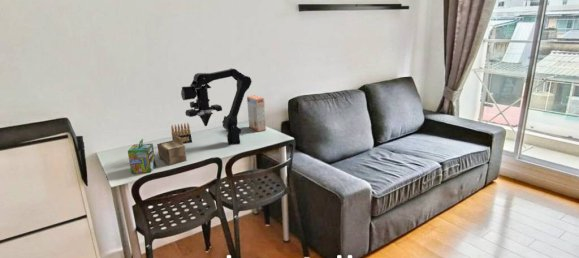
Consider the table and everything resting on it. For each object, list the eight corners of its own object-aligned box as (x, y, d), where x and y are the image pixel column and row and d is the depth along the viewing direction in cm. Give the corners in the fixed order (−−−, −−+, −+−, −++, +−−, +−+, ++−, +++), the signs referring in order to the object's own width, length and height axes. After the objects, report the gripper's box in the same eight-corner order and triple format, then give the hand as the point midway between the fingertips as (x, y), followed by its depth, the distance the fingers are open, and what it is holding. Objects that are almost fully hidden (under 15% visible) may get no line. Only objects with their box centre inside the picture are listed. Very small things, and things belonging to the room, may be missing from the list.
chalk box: (137, 166, 168) (132, 137, 164) (156, 165, 169) (152, 136, 165) (130, 174, 160) (125, 143, 155) (151, 172, 160) (146, 142, 156)
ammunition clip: (173, 145, 197) (170, 125, 194) (172, 144, 199) (170, 124, 195) (192, 142, 201) (189, 122, 198) (191, 141, 203) (189, 121, 199)
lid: (175, 141, 180) (174, 134, 179) (184, 146, 172) (183, 138, 171) (160, 145, 175) (159, 137, 174) (168, 150, 167) (167, 142, 166)
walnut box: (176, 154, 183) (174, 139, 180) (186, 160, 173) (184, 145, 171) (159, 158, 177) (157, 144, 175) (169, 165, 168) (166, 150, 165)
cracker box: (266, 130, 218) (264, 98, 213) (257, 132, 216) (255, 99, 210) (257, 125, 230) (255, 94, 224) (248, 127, 227) (246, 96, 221)
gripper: (211, 93, 193) (214, 120, 197) (179, 98, 181) (183, 126, 186) (221, 95, 185) (223, 123, 189) (188, 101, 173) (192, 130, 178)
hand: (205, 125), depth 186 cm, fingers closed
